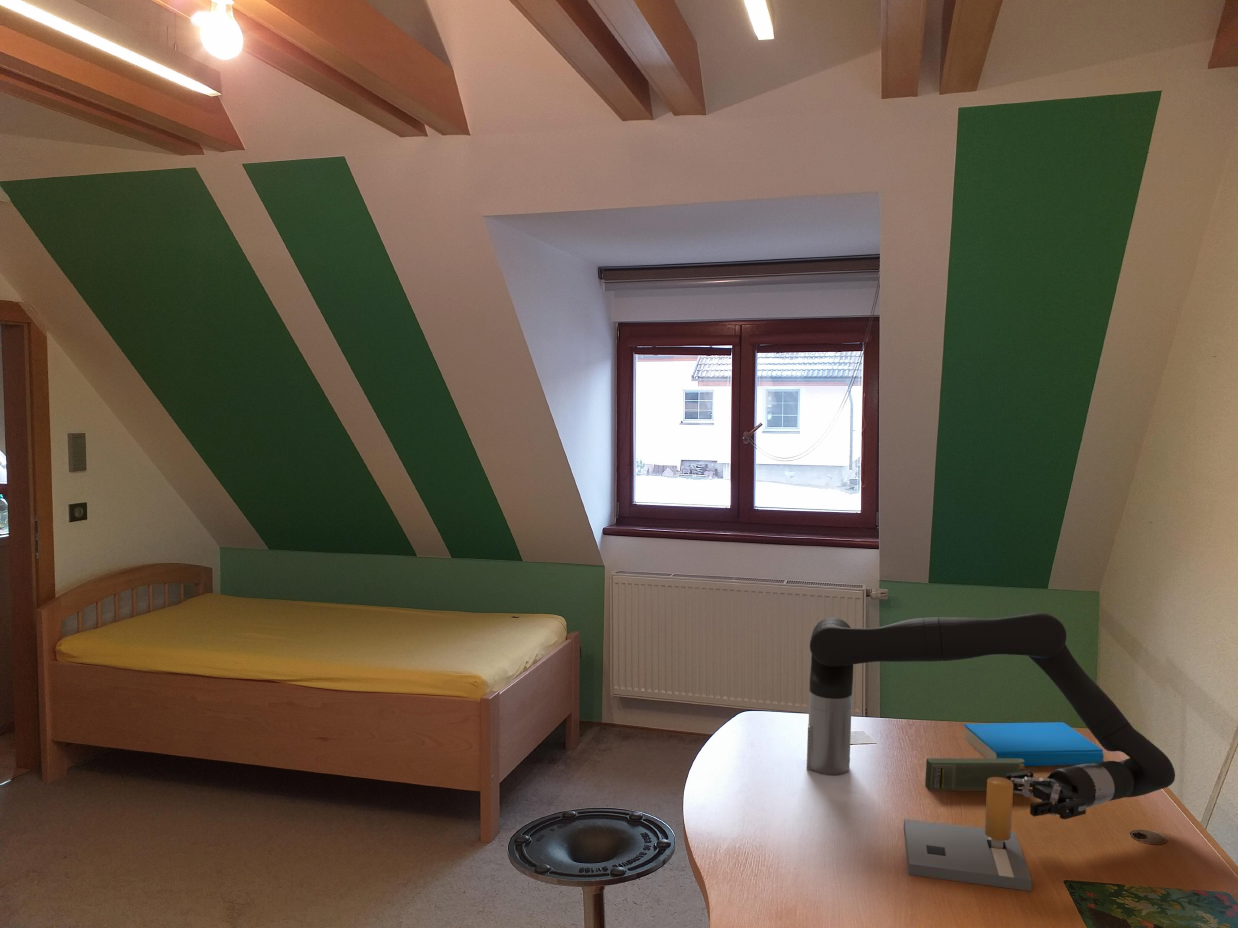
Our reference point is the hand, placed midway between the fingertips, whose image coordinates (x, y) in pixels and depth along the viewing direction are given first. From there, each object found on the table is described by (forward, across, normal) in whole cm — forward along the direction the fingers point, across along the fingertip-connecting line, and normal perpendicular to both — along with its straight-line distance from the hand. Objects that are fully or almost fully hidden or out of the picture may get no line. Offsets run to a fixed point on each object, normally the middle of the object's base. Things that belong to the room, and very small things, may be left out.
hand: (1014, 799), depth 170 cm
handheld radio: (-14, -23, +11) cm, 29 cm away
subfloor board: (+10, -2, +10) cm, 14 cm away
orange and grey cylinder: (+3, 0, +10) cm, 11 cm away
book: (-39, -35, +11) cm, 53 cm away
